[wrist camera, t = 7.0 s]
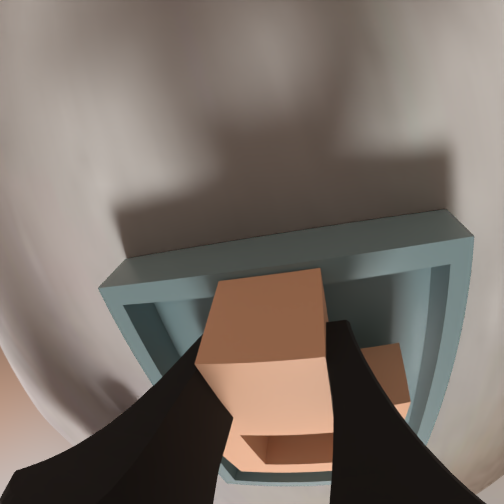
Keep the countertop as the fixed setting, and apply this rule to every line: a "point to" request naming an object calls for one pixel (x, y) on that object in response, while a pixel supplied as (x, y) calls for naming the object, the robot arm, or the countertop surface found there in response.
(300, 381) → the collar
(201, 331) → the tray
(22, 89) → the countertop surface
